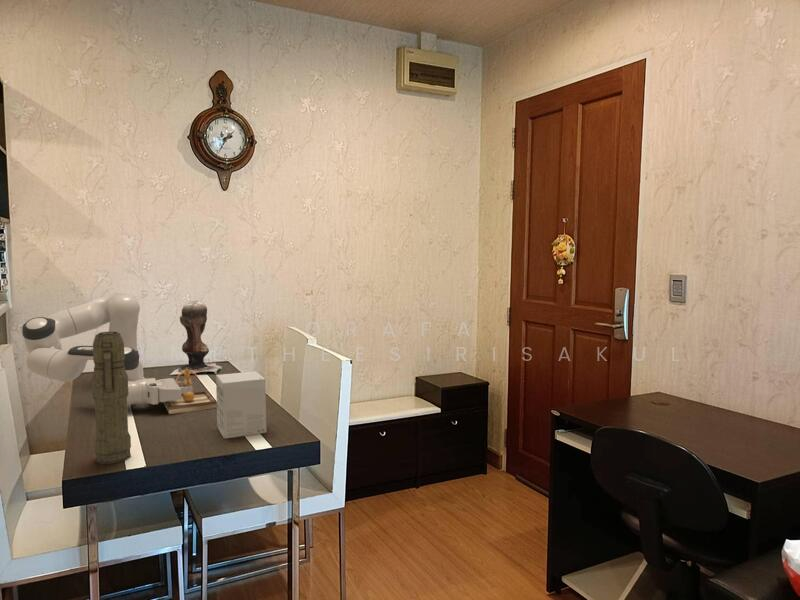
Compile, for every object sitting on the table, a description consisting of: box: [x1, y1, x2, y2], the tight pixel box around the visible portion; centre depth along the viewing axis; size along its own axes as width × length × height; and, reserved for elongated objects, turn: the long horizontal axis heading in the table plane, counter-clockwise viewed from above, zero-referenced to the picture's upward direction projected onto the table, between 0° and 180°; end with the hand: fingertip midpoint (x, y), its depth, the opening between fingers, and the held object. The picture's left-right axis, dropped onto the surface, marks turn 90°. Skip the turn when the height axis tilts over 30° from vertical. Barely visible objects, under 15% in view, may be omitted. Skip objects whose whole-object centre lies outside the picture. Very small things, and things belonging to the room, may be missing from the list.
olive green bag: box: [91, 331, 132, 465], centre depth 156 cm, size 9×12×35 cm
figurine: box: [175, 369, 200, 402], centre depth 211 cm, size 8×6×12 cm
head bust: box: [169, 300, 223, 376], centre depth 271 cm, size 22×25×35 cm
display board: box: [162, 390, 217, 415], centre depth 211 cm, size 18×16×2 cm
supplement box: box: [215, 370, 268, 439], centre depth 181 cm, size 13×13×18 cm
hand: (190, 386), depth 211 cm, fingers open, 6 cm apart
